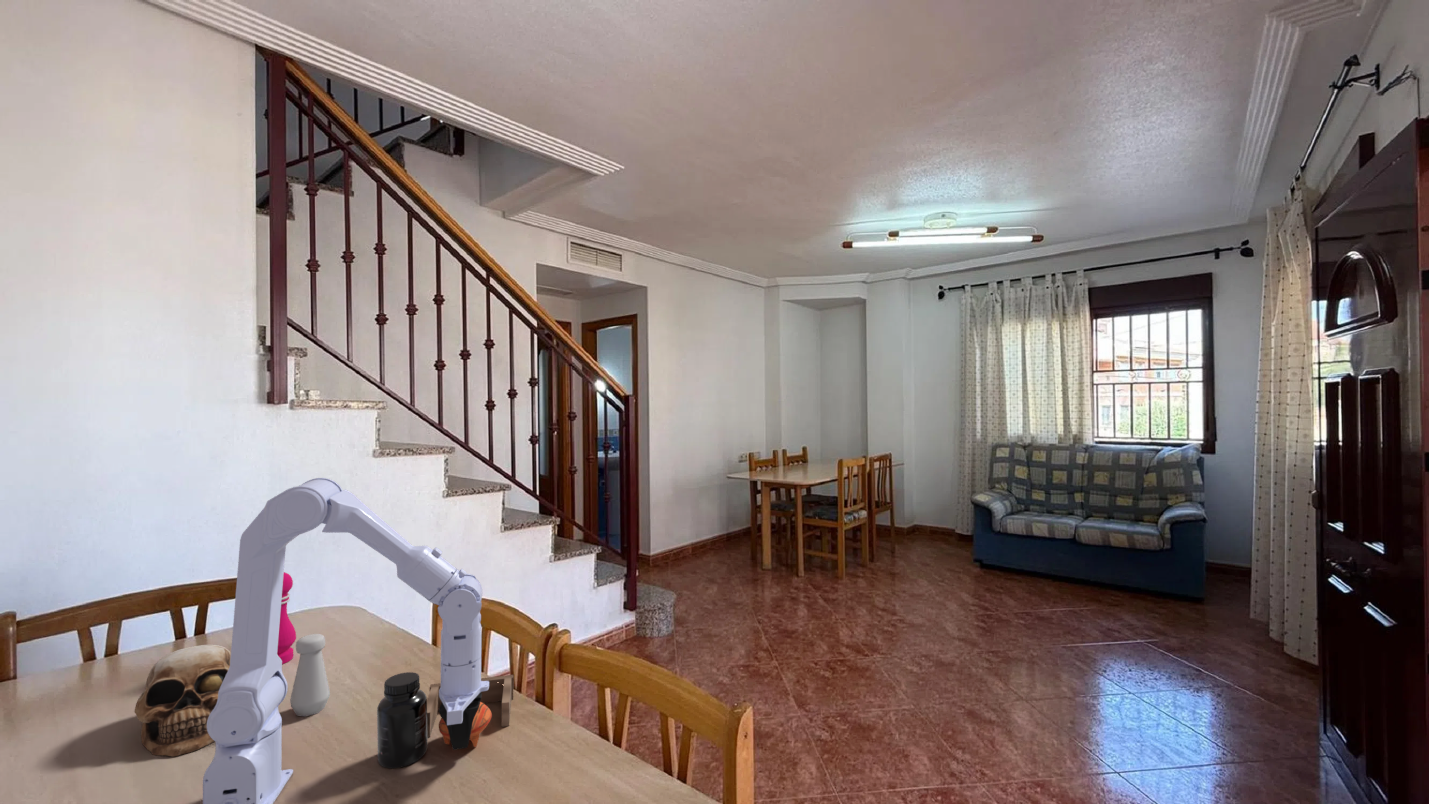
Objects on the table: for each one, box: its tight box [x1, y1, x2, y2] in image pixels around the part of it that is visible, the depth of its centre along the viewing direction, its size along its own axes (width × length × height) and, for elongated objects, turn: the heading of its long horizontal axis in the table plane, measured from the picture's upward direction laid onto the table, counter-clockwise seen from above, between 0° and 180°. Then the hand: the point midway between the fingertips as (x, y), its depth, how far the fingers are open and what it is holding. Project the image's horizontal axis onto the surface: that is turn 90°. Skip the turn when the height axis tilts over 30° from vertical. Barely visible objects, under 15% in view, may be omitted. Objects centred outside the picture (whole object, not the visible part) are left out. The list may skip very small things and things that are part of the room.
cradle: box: [427, 674, 514, 738], centre depth 103 cm, size 10×14×4 cm
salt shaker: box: [289, 633, 331, 717], centre depth 104 cm, size 6×6×13 cm
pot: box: [438, 702, 493, 748], centre depth 96 cm, size 8×8×7 cm
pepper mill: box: [277, 571, 297, 665], centre depth 123 cm, size 7×7×20 cm
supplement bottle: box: [376, 671, 428, 769], centre depth 91 cm, size 7×7×12 cm
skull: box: [133, 644, 231, 757], centre depth 100 cm, size 16×17×13 cm
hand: (460, 746), depth 91 cm, fingers closed
